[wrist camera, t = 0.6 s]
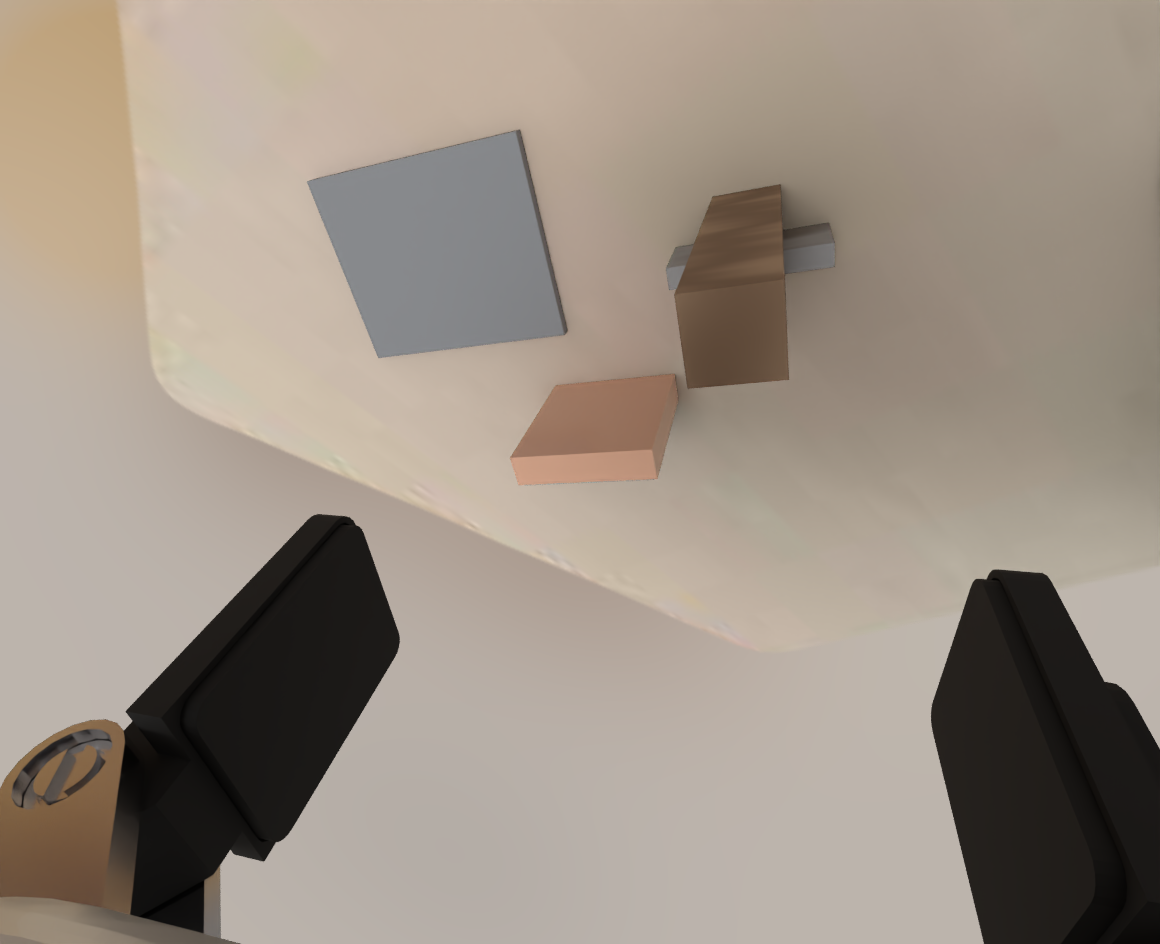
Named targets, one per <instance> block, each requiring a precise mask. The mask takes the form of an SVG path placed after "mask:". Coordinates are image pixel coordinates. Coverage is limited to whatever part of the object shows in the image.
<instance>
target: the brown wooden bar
mask: <svg viewBox="0 0 1160 944" xmlns="http://www.w3.org/2000/svg"><path fill="white" fill-rule="evenodd" d="M831 267H835V242H834V239H833V236H832V232H831V229H830V225H829V223H824V224H818V225H811V226H805V227H799V228H793V229H787V230H783V227H782V207H781V187H780V185H774V186H769V187H763V188H758V189H752V190H747V191H741V192H736V193H731V194H725V195H720V196H714V197H712V200H711V202H710V205H709V207H708V210H707V213H706V215H705V218H704V220H703V223H702V225H701V228H700V230H699V233H698V236H697V238H696V241H695V243H694V245H688V246H682V247H676V248H675V250H674V252H673V254H672V256H671V259H670V261H669V263H668V265H667V267H666V272H667V279H668V286H669V290H674V289H676V292H675V294H674V296H675V303H676V310H677V317H678V324H679V331H680V338H681V345H682V352H683V359H684V366H685V373H686V380H687V388H688V389H689V388H701V387H712V386H723V385H734V384H746V383H757V382H768V381H779V380H789V370H788V345H787V320H786V295H785V274H788V273H795V272H802V271H809V270H817V269H824V268H831Z"/></svg>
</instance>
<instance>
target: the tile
mask: <svg viewBox="0 0 1160 944" xmlns="http://www.w3.org/2000/svg"><path fill="white" fill-rule="evenodd" d="M677 404H678V394H677V387H676V380H675V374H669V375H658V376H648V377H638V378H627V379H617V380H607V381H596V382H586V383H576V384H566V385H556V386H555V387H554V389H553V390H552V392H551V394H550V395H549V397H548V398H547V400H546V402H545V403H544V405H543V406H542V408H541V410H540V411H539V413H538V414H537V416H536V418H535V419H534V421H533V422H532V424H531V425H530V427H529V429H528V430H527V432H526V433H525V435H524V437H523V438H522V440H521V441H520V443H519V445H518V446H517V448H516V449H515V451H514V452H513V454H512V456H511V457H510V459H511V462H512V466H513V469H514V472H515V475H516V478H517V481H518V484H519V485H541V484H564V483H587V482H610V481H633V480H654V479H658V475H659V471H660V468H661V464H662V460H663V456H664V453H665V449H666V445H667V441H668V437H669V434H670V430H671V426H672V422H673V419H674V415H675V411H676V407H677Z"/></svg>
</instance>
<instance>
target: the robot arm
mask: <svg viewBox="0 0 1160 944" xmlns="http://www.w3.org/2000/svg"><path fill="white" fill-rule="evenodd" d="M399 640H400V637H399V633H398V630H397V627H396V624H395V621H394V618H393V615H392V612H391V610H390V607H389V604H388V601H387V598H386V596H385V592H384V590H383V587H382V584H381V581H380V578H379V575H378V573H377V570H376V567H375V564H374V561H373V558H372V556H371V553H370V550H369V547H368V544H367V542H366V539H365V536H364V533H363V531H362V529H361V528H360V527H359V526H356V525H355V523H354V521H353V520H352V519H351V518H350V517H345V516H333V515H322V514H317V515H314V516H312V517H311V518H310V519H308V520H307V521H306V522H305V523H304V525H303V526H302V527H301V528H300V529H299V530H298V531H297V532H296V533H295V534H294V535H293V536H292V537H291V538H290V539H289V540H288V541H287V542H286V543H285V545H283V547H282V548H281V549H280V550H279V551H278V552H277V553H276V554H275V555H274V556H273V557H272V558H271V559H270V560H269V561H268V562H267V563H266V564H265V565H264V566H263V568H262V569H261V570H260V571H259V572H258V573H257V574H256V575H255V576H254V577H253V578H252V579H251V580H250V581H249V582H248V583H247V584H246V585H245V586H244V587H243V589H242V590H241V591H240V592H239V593H238V594H237V595H236V596H235V597H234V598H233V599H232V600H231V601H230V602H229V603H228V604H227V605H226V606H225V608H224V609H223V610H222V611H221V612H220V613H219V614H218V615H217V616H216V617H215V618H214V619H213V620H212V621H211V622H210V623H209V624H208V625H207V626H206V627H205V628H204V630H203V631H202V632H201V633H200V634H199V635H198V636H197V637H196V638H195V639H194V640H193V641H192V642H191V643H190V644H189V645H188V646H187V647H186V648H185V649H184V651H183V652H182V653H181V654H180V655H179V656H178V657H177V658H176V659H175V660H174V661H173V662H172V663H171V664H170V665H169V666H168V667H167V668H166V669H165V670H164V671H163V673H162V674H161V675H160V676H159V677H158V678H157V679H156V680H155V681H154V682H153V683H152V684H151V685H150V686H149V687H148V688H147V689H146V690H145V692H144V693H143V694H142V695H141V696H140V697H139V698H138V699H137V700H136V701H135V702H134V703H133V704H132V705H131V706H130V707H129V708H128V709H127V711H126V713H127V714H128V715H129V717H130V718H131V719H132V723H131V724H130V725H129V726H128V727H127V728H126V729H125V730H123V729H122V728H121V727H120V726H119V725H118V724H117V723H115V722H112V721H109V720H106V719H105V720H90V721H86V722H82V723H79V724H75V725H72V726H70V727H68V728H66V729H64V730H62V731H60V732H58V733H56V734H53V735H52V736H50V737H49V738H47V739H46V740H44V741H43V742H42V743H40V744H38V745H37V746H36V747H34V748H33V749H32V750H31V751H30V752H29V753H28V754H26V755H25V756H24V757H23V758H22V759H21V760H20V761H19V762H18V763H17V764H16V765H15V767H14V768H13V769H12V770H11V771H10V773H9V774H8V775H7V776H6V778H5V780H4V782H3V784H2V786H1V788H0V944H239V943H236V942H232V941H228V940H225V939H221V927H220V926H221V923H220V922H221V921H220V920H221V919H220V864H221V863H222V861H223V860H224V858H225V857H226V855H227V853H228V852H229V850H231V851H232V852H233V853H234V854H235V855H239V856H243V857H247V858H252V859H256V860H260V861H265V859H266V858H267V856H268V854H269V853H270V851H271V849H272V848H273V846H274V844H275V843H276V842H279V841H281V840H283V839H284V838H285V837H286V836H287V835H288V834H289V832H290V831H291V829H292V828H293V826H294V824H295V823H296V821H297V819H298V818H299V816H300V814H301V813H302V811H303V809H304V807H305V806H306V804H307V802H308V801H309V799H310V798H311V796H312V794H313V793H314V791H315V789H316V788H317V786H318V784H319V783H320V781H321V779H322V778H323V776H324V774H325V773H326V771H327V769H328V768H329V766H330V764H331V763H332V761H333V759H334V758H335V756H336V754H337V752H338V751H339V749H340V748H341V746H342V744H343V743H344V741H345V739H346V738H347V736H348V734H349V732H350V731H351V729H352V728H353V726H354V724H355V723H356V721H357V719H358V718H359V716H360V714H361V713H362V711H363V709H364V708H365V706H366V704H367V703H368V701H369V699H370V698H371V696H372V694H373V693H374V691H375V689H376V688H377V686H378V684H379V683H380V681H381V679H382V678H383V676H384V674H385V673H386V671H387V669H388V668H389V666H390V664H391V663H392V661H393V659H394V658H395V656H396V654H397V652H398V648H399V643H400V641H399ZM931 723H932V730H933V734H934V739H935V743H936V747H937V751H938V755H939V759H940V763H941V767H942V772H943V776H944V780H945V784H946V788H947V792H948V797H949V801H950V805H951V809H952V813H953V817H954V821H955V825H956V829H957V834H958V838H959V842H960V846H961V850H962V854H963V858H964V863H965V867H966V871H967V875H968V879H969V883H970V887H971V891H972V895H973V899H974V904H975V908H976V912H977V916H978V920H979V924H980V928H981V933H982V937H983V941H984V944H1160V749H1159V747H1158V745H1157V743H1156V742H1155V740H1154V738H1153V736H1152V734H1151V733H1150V731H1149V729H1148V727H1147V726H1146V724H1145V722H1144V720H1143V718H1142V716H1141V715H1140V713H1139V711H1138V709H1137V707H1136V706H1135V704H1134V702H1133V701H1132V699H1131V698H1130V697H1129V695H1128V694H1127V693H1126V691H1125V690H1123V689H1122V688H1121V687H1119V686H1118V685H1117V684H1113V683H1108V682H1104V680H1103V678H1102V677H1101V675H1100V673H1099V671H1098V669H1097V667H1096V665H1095V663H1094V661H1093V659H1092V658H1091V656H1090V654H1089V652H1088V650H1087V648H1086V646H1085V644H1084V642H1083V641H1082V639H1081V637H1080V635H1079V633H1078V631H1077V630H1076V627H1075V625H1074V624H1073V622H1072V620H1071V618H1070V616H1069V614H1068V612H1067V610H1066V608H1065V606H1064V605H1063V603H1062V601H1061V599H1060V597H1059V595H1058V593H1057V591H1056V589H1055V588H1054V586H1053V584H1052V582H1051V580H1050V579H1049V578H1048V576H1046V575H1045V574H1043V573H1033V572H1021V571H1008V570H992V571H991V572H990V573H989V575H988V577H987V580H986V579H975V581H974V582H973V583H972V586H971V588H970V592H969V595H968V598H967V601H966V604H965V607H964V610H963V613H962V616H961V619H960V622H959V625H958V628H957V631H956V634H955V637H954V640H953V643H952V646H951V649H950V652H949V655H948V658H947V661H946V664H945V667H944V670H943V673H942V676H941V679H940V682H939V685H938V688H937V691H936V694H935V697H934V700H933V704H932V710H931Z"/></svg>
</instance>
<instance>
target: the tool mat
mask: <svg viewBox="0 0 1160 944" xmlns="http://www.w3.org/2000/svg"><path fill="white" fill-rule="evenodd" d="M307 183H308V186H309V188H310V191H311V193H312V195H313V198H314V200H315V203H316V205H317V208H318V210H319V213H320V215H321V218H322V220H323V223H324V225H325V228H326V230H327V232H328V235H329V237H330V240H331V242H332V245H333V247H334V250H335V252H336V255H337V257H338V260H339V262H340V265H341V267H342V270H343V272H344V274H345V277H346V279H347V282H348V284H349V287H350V289H351V292H352V294H353V297H354V299H355V302H356V304H357V307H358V309H359V312H360V314H361V316H362V319H363V321H364V324H365V326H366V329H367V331H368V334H369V336H370V339H371V341H372V344H373V346H374V349H375V351H376V354H377V356H378V358H383V357H391V356H399V355H407V354H415V353H423V352H431V351H439V350H447V349H455V348H463V347H471V346H479V345H488V344H496V343H504V342H512V341H520V340H528V339H536V338H544V337H552V336H560V335H565V333H566V332H567V328H566V324H565V319H564V315H563V311H562V307H561V302H560V298H559V294H558V290H557V285H556V281H555V277H554V273H553V269H552V264H551V260H550V256H549V252H548V247H547V243H546V239H545V235H544V231H543V226H542V222H541V218H540V214H539V209H538V205H537V201H536V197H535V192H534V188H533V184H532V180H531V176H530V171H529V167H528V163H527V159H526V154H525V150H524V146H523V142H522V137H521V133H520V130H517V131H513V132H508V133H504V134H500V135H496V136H492V137H488V138H484V139H479V140H475V141H471V142H467V143H463V144H459V145H455V146H450V147H446V148H442V149H438V150H434V151H430V152H425V153H421V154H417V155H413V156H409V157H405V158H401V159H396V160H392V161H388V162H384V163H380V164H376V165H372V166H367V167H363V168H359V169H355V170H351V171H347V172H343V173H338V174H334V175H330V176H326V177H322V178H318V179H314V180H310V181H307Z"/></svg>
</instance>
